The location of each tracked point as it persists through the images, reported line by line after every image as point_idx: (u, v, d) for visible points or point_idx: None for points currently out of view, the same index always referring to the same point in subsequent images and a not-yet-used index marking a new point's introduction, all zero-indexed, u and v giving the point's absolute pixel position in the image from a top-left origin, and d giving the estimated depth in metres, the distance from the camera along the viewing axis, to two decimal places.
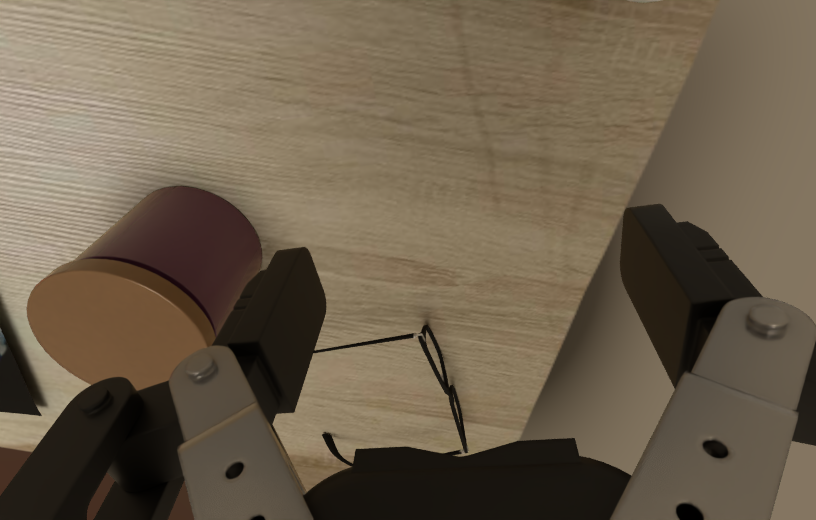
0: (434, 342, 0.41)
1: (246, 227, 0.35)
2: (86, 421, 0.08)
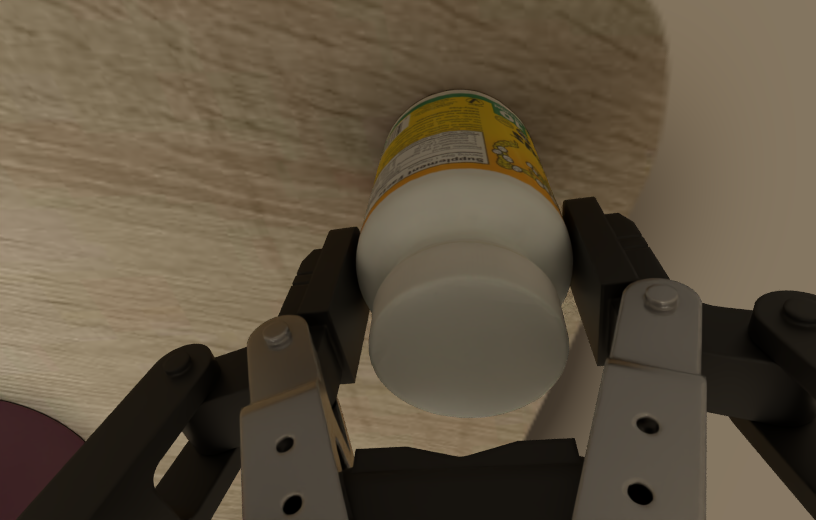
0: None
1: (66, 442, 0.28)
2: (167, 384, 0.09)
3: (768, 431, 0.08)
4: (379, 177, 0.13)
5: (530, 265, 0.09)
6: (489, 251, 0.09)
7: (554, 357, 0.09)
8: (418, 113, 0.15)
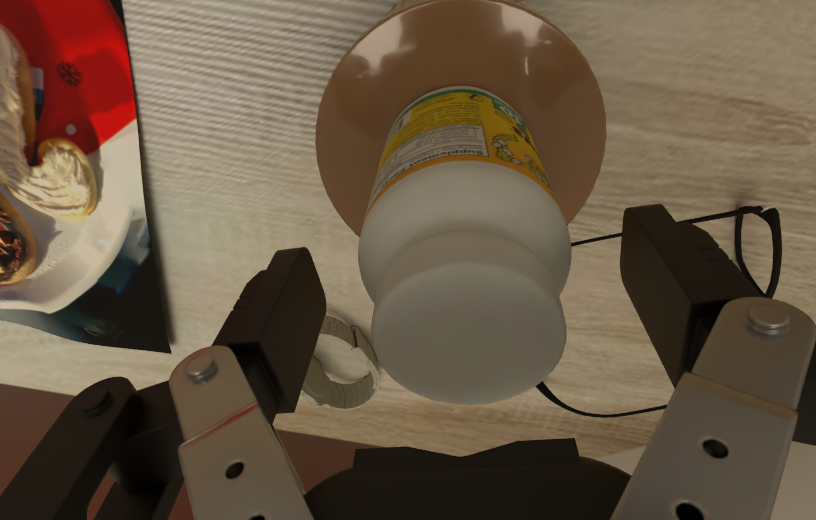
0: (738, 236, 0.30)
1: None
2: (87, 421, 0.08)
3: None
4: (381, 170, 0.13)
5: (529, 253, 0.09)
6: (488, 240, 0.09)
7: (552, 343, 0.10)
8: (419, 108, 0.15)
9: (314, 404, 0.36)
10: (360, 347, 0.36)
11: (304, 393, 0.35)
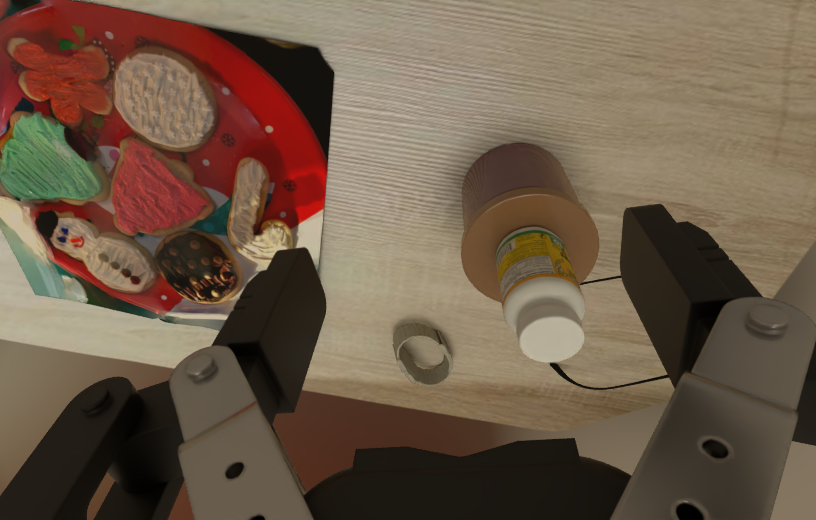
0: None
1: None
2: (87, 421, 0.08)
3: None
4: (508, 272, 0.33)
5: (572, 311, 0.29)
6: (559, 307, 0.29)
7: (579, 340, 0.29)
8: (518, 240, 0.35)
9: (413, 381, 0.56)
10: (443, 344, 0.55)
11: (408, 373, 0.55)
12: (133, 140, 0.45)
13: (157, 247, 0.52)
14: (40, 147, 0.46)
